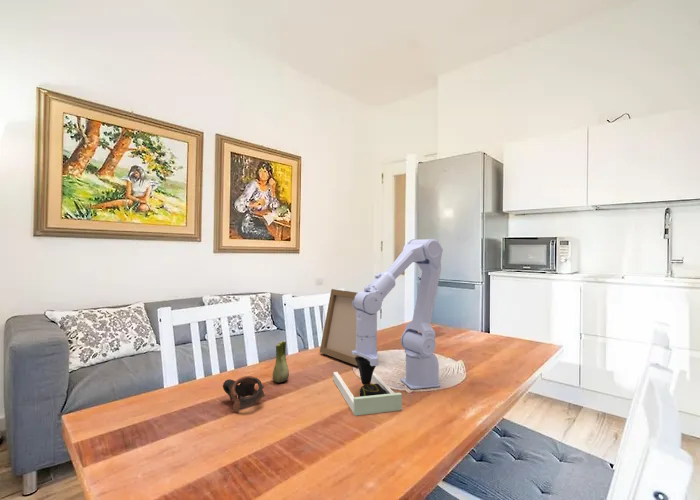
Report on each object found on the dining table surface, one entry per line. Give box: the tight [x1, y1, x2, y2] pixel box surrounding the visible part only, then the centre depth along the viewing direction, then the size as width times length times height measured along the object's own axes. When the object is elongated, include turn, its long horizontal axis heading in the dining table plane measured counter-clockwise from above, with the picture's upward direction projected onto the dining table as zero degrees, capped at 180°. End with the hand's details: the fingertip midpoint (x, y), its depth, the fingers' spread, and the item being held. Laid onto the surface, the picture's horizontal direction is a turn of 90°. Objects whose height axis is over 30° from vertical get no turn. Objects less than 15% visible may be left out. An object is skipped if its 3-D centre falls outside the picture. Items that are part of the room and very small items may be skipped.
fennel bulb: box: [271, 340, 290, 384], centre depth 109 cm, size 6×5×12 cm
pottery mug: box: [222, 375, 265, 413], centre depth 92 cm, size 12×10×8 cm
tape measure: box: [359, 383, 388, 397], centre depth 95 cm, size 7×7×4 cm
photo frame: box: [319, 288, 360, 367], centre depth 133 cm, size 15×22×25 cm
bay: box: [332, 370, 403, 417], centre depth 100 cm, size 12×24×4 cm, turn 15°
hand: (366, 383), depth 98 cm, fingers closed
